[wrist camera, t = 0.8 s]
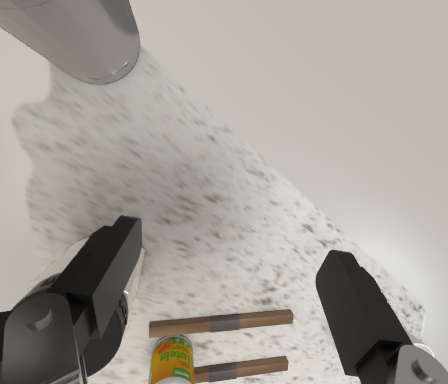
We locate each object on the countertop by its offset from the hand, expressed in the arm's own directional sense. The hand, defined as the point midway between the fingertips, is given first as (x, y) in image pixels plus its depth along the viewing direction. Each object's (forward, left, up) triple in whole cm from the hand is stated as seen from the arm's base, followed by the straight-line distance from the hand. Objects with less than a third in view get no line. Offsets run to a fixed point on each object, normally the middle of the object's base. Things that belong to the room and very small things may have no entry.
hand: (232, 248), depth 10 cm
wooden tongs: (+22, -8, -20) cm, 31 cm away
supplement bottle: (+19, -14, -20) cm, 31 cm away
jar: (+3, -14, -20) cm, 25 cm away
